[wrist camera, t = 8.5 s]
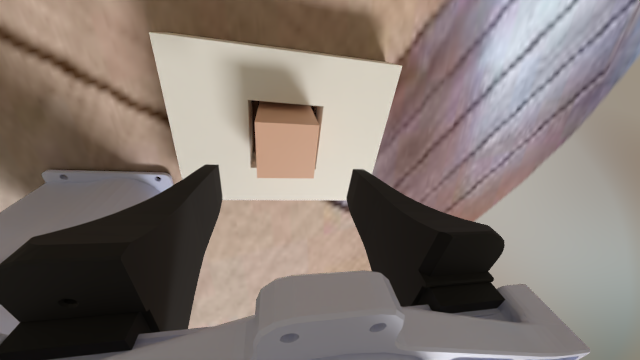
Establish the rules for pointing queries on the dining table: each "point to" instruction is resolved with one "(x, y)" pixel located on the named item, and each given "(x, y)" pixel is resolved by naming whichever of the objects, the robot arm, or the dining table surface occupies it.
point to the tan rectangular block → (285, 140)
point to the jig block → (272, 86)
